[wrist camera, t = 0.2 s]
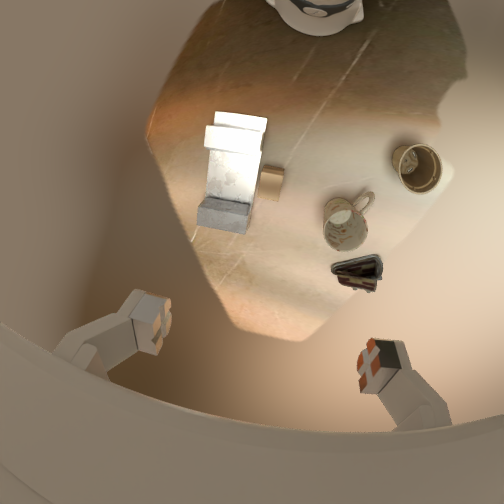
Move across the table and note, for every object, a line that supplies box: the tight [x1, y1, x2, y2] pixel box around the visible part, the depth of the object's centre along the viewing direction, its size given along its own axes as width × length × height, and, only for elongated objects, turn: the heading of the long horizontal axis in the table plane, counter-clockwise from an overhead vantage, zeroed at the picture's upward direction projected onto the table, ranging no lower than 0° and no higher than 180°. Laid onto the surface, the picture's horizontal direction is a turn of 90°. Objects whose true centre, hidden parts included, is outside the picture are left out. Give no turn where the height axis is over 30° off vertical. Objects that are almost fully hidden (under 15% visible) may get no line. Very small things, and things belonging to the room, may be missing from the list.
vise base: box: [204, 111, 268, 231], centre depth 53 cm, size 24×10×6 cm, turn 171°
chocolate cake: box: [331, 255, 383, 293], centre depth 61 cm, size 10×7×12 cm
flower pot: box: [392, 144, 442, 194], centre depth 45 cm, size 9×9×9 cm
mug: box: [323, 192, 375, 252], centre depth 51 cm, size 8×13×10 cm, turn 141°
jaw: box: [197, 197, 251, 235], centre depth 56 cm, size 5×10×5 cm, turn 81°
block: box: [257, 165, 284, 201], centre depth 53 cm, size 5×4×6 cm
